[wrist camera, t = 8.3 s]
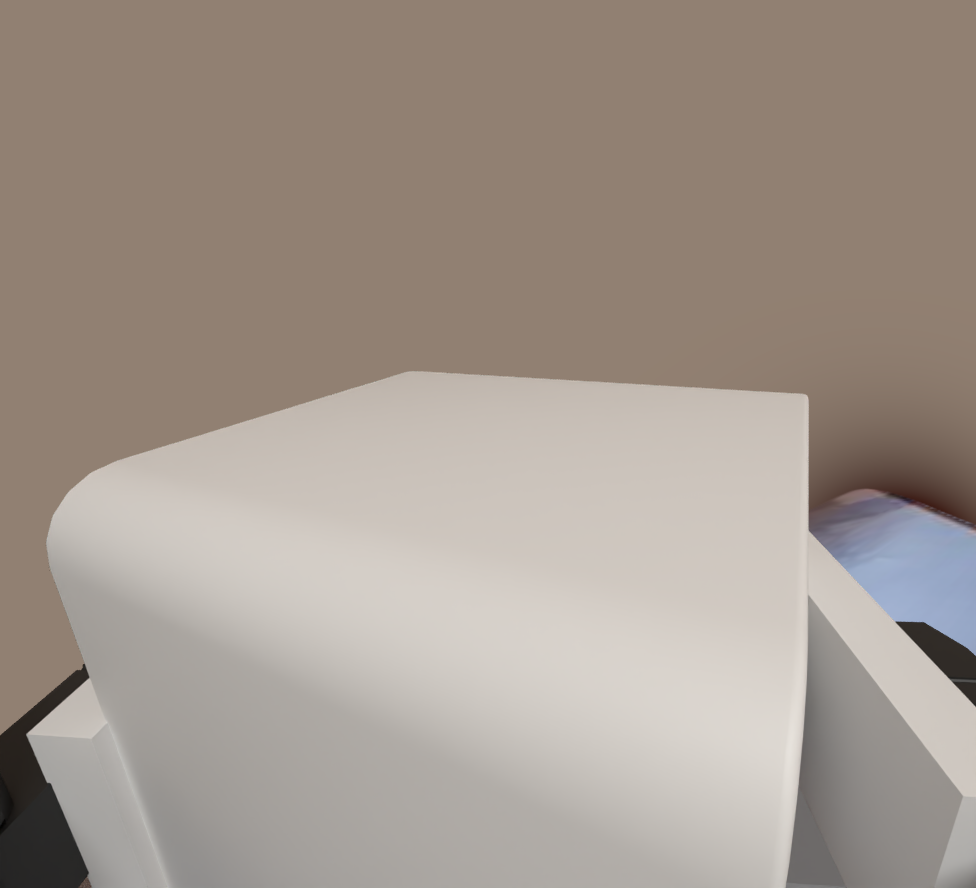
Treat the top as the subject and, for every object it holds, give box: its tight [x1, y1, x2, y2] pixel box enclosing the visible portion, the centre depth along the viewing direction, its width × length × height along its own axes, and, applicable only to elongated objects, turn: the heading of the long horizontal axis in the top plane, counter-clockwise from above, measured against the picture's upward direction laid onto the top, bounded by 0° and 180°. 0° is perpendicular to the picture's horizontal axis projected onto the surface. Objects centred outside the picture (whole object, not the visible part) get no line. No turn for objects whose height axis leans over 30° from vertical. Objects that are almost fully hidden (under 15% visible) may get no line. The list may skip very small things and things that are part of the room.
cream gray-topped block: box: [786, 785, 847, 888], centre depth 22 cm, size 14×12×5 cm
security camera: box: [46, 371, 809, 888], centre depth 7 cm, size 6×7×10 cm
